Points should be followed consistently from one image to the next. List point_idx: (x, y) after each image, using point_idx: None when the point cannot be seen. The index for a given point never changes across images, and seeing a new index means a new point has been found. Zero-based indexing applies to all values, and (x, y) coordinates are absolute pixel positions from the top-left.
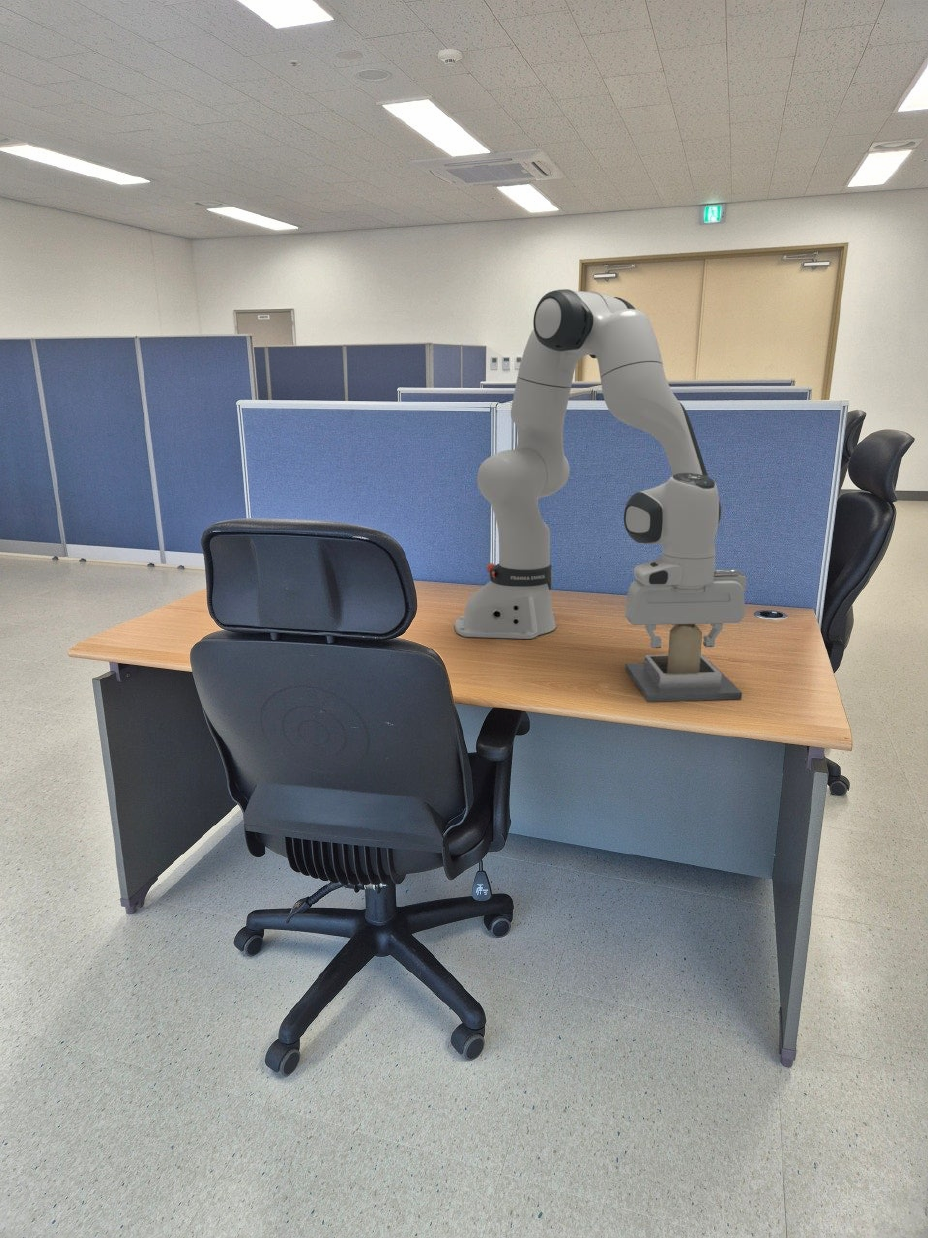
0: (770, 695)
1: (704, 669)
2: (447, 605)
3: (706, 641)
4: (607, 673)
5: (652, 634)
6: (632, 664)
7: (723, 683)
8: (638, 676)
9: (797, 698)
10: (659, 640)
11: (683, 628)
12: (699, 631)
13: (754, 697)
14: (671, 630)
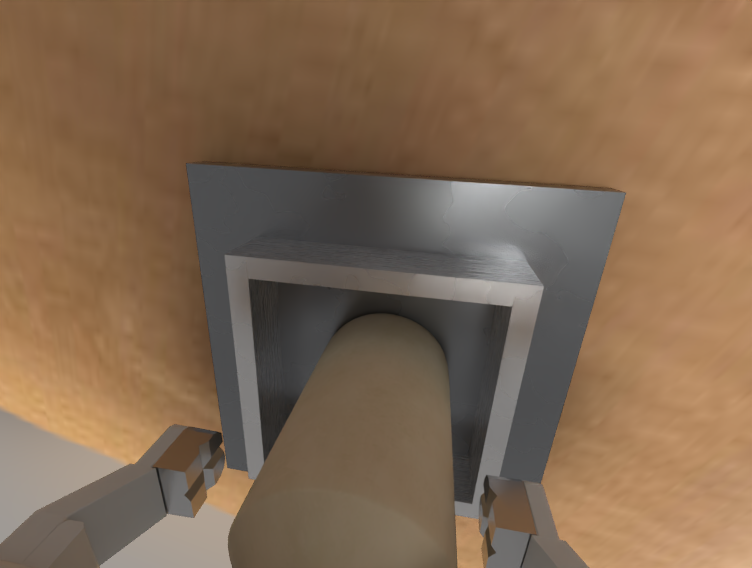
0: (647, 496)
1: (489, 372)
2: None
3: (481, 548)
4: (131, 197)
5: (113, 544)
6: (214, 182)
7: (513, 448)
8: (221, 324)
9: (722, 533)
10: (186, 509)
11: None
12: None
13: (579, 495)
14: (231, 558)
